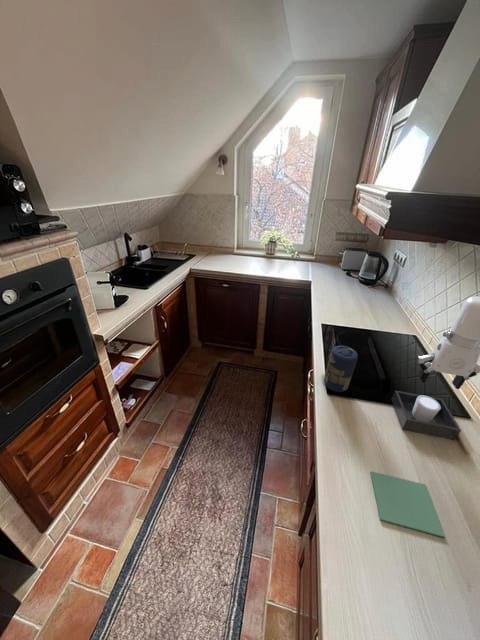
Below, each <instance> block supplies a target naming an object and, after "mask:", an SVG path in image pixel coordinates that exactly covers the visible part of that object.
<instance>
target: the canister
mask: <svg viewBox="0 0 480 640" xmlns="http://www.w3.org/2000/svg"><path fill="white" fill-rule="evenodd" d="M358 358H359V356H358V352H357V351H356V350H355V349H353V348H351V347H349V346H347V345H335V346H334V347H333V348H332V349H331V351H330V355H329V357H328V361H327V366H326V369H325V373H324V378H323V383H324V385H325V386H326V387H327V388H328V389H329V390H330V391H332V392H335V393H344V392H346V391H347V390H348V389H349V387H350V383H351V380H352V378H353V374H354V371H355V368H356V366H357V363H358Z"/></svg>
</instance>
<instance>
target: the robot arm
mask: <svg viewBox="0 0 480 640" xmlns="http://www.w3.org/2000/svg"><path fill="white" fill-rule="evenodd" d="M442 336H443V338H442V339H441V340H439V342H438V343H437V344H436V346H435V347H434V349H433V350H432V351H431V353H430V354H425V355H418V356H417V362H418V365H419V367H420V368H421V370H420V372H419V374H418V379H419V380H420V382H421V383H422V384H425V383H426V382H427V380H428V379H429V377H430V372H432V371H435V372H437V373H442V374H446V375H447V374H448V375H454V378H453V380H452V381H451V384H452V385H453V387H454V388H455V389H456V390H460V389H461V387H462V386H463V385H464V383H465V382H466V381H468V380H470V378H474V377H475V376H476V377H477V374H480V364H478V361H479V359H480V296H477V295H475V296H470V297H468V298H467V299H466V300H465V301H464V303H463V305H462V307H461V309H460V310H459V312H458V314H457V316H456V318H455V319H454V321H453V323H452V325H451V327H450V329H449V330H448V332H443V333H442Z"/></svg>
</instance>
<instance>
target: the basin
mask: <svg viewBox="0 0 480 640" xmlns="http://www.w3.org/2000/svg"><path fill="white" fill-rule="evenodd" d="M420 395H421V394H417V393H412V392H405V391H400V390H394V392H393V395H392V397H391V400H392V401H391V400H390V401H391V403H392V402H393V403H392V407H393V408H394V411H395V414H396V417H397V420H398V423H399V425H400V428H401V430H404V431H408V432H412V433H418V434H422V435H427V436H431V437H437V438H442V439H446V440H452V441H455V440H456V439H457V437H458V436H459V435H460V433H461V432H462V429H461V427H460V426H459V425H458V423H457V421H456V420H455V418H454V416H453V414H452V413H451V411H450V409H449V408H448V405H447V404H446V402H445V401H444V399H443V398H439V397H434V396H428V395H427V396H428V397H431V398H433V399H434V400H436V401H437V402H438V403H439V404H440V406H441V409H440V410H439V411H438V413H437V414H436V415H435V416H434V418H433V419H432V420H431V421H430V422H424V421H419V420H416V419H415V418H414V417H413V415H412V411H413V408H414V405H415V402H416V399H417V397H418V396H420Z"/></svg>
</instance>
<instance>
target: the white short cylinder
mask: <svg viewBox="0 0 480 640" xmlns="http://www.w3.org/2000/svg"><path fill="white" fill-rule="evenodd" d="M419 395H420V396H418V397H417V399H416V402H415V405H414V408H413V411H412V415H413V417H414V418H415V419H416V420H419V421H424V422H430V421H431V420H432V419H433V418H434V416H435V415H436V414H437V413H438V411H439V410H440V409H441V406H440V404H439V403H438V402H437V401H436V400H434V399H433V398H431V397H432V396H429V397H428V395H423V394H419Z"/></svg>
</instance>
